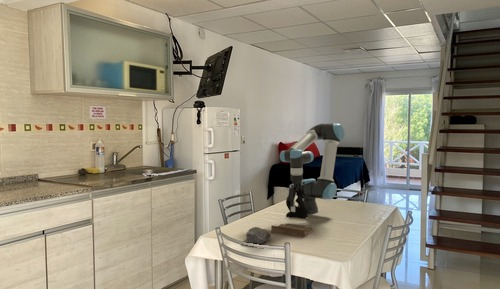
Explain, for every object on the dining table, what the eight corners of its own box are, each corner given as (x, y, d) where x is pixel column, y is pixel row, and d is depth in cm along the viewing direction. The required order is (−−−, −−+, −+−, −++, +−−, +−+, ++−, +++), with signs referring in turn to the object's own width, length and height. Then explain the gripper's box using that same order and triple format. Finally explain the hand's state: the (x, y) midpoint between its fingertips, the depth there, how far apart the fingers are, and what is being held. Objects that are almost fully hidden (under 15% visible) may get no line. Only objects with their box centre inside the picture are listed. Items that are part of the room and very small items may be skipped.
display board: (281, 226, 228) (281, 219, 227) (312, 230, 218) (312, 222, 218) (271, 232, 214) (271, 225, 214) (304, 237, 205) (304, 229, 205)
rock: (263, 246, 191) (273, 239, 205) (263, 234, 191) (273, 227, 205) (241, 243, 196) (252, 235, 210) (241, 231, 196) (252, 224, 210)
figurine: (284, 217, 232) (283, 186, 231) (289, 214, 240) (289, 183, 238) (305, 219, 225) (305, 187, 224) (310, 216, 233) (310, 185, 232)
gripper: (301, 171, 241) (302, 205, 243) (281, 176, 225) (282, 212, 227) (311, 172, 236) (311, 207, 237) (291, 177, 220) (292, 214, 222)
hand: (297, 210), depth 232 cm, fingers closed on figurine, 9 cm apart
